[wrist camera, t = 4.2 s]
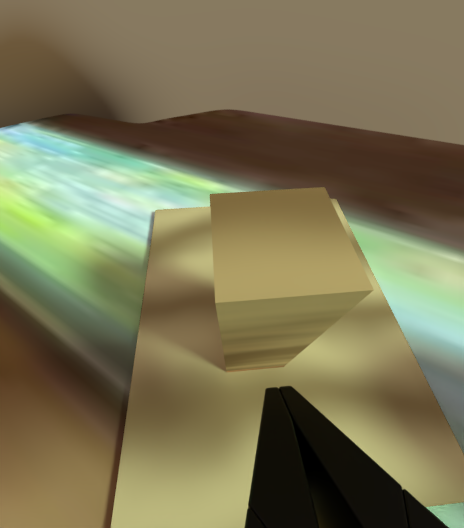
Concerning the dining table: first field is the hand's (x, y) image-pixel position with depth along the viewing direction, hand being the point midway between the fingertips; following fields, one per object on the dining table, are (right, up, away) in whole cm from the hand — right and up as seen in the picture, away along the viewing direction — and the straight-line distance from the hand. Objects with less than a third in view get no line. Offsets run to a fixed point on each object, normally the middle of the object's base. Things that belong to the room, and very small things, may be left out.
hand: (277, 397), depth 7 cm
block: (0, -1, +10) cm, 10 cm away
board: (+1, +1, +12) cm, 12 cm away
